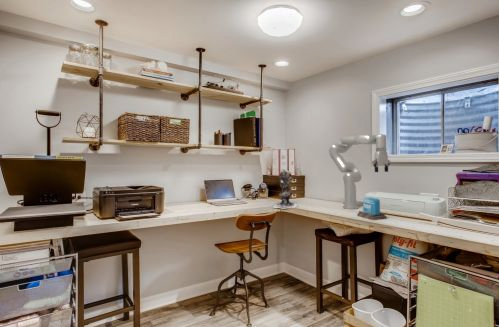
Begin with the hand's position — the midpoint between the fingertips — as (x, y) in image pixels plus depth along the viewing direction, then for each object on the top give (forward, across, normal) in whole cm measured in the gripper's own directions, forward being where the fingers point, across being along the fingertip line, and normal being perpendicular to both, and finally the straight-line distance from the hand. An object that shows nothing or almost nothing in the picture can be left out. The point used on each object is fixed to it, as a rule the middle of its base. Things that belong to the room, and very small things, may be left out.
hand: (381, 171), depth 229 cm
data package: (+31, +20, +11) cm, 38 cm away
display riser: (+32, +20, +11) cm, 40 cm away
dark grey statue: (+33, +58, -58) cm, 88 cm away
